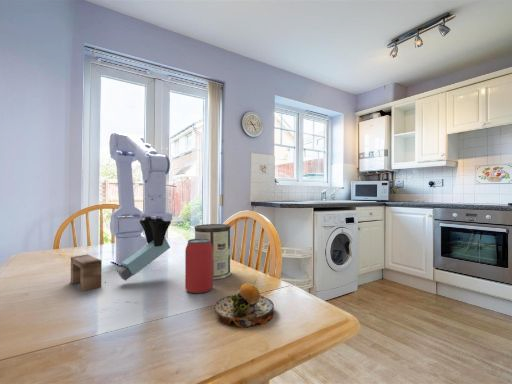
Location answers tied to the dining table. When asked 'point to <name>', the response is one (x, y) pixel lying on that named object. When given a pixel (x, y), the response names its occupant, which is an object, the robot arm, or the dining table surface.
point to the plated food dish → (245, 307)
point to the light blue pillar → (141, 259)
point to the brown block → (86, 271)
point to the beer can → (199, 266)
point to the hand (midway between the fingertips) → (155, 245)
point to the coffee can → (217, 246)
